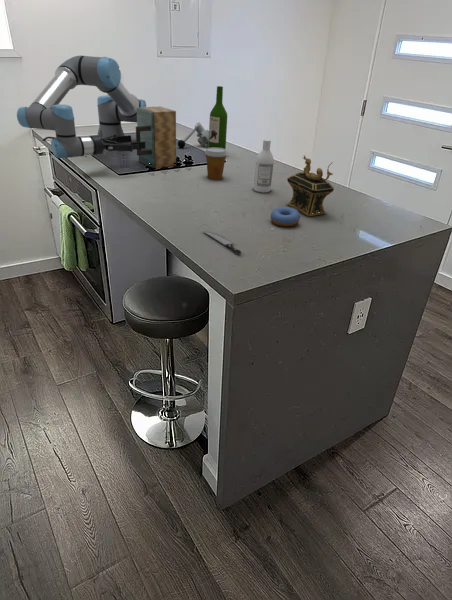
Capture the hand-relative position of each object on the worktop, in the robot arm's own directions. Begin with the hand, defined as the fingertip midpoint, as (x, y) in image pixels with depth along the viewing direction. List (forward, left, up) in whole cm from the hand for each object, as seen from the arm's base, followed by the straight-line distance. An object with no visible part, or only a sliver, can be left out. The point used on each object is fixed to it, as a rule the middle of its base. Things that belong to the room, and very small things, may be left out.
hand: (137, 141), depth 190 cm
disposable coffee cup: (+34, -11, -12) cm, 37 cm away
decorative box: (+65, -52, -12) cm, 84 cm away
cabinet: (+9, +10, -12) cm, 18 cm away
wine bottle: (+39, +31, -12) cm, 51 cm away
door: (0, +6, -12) cm, 13 cm away
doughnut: (+53, -64, -12) cm, 84 cm away
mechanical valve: (+29, +48, -12) cm, 57 cm away
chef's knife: (+30, -81, -12) cm, 87 cm away
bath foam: (+52, -28, -12) cm, 60 cm away
